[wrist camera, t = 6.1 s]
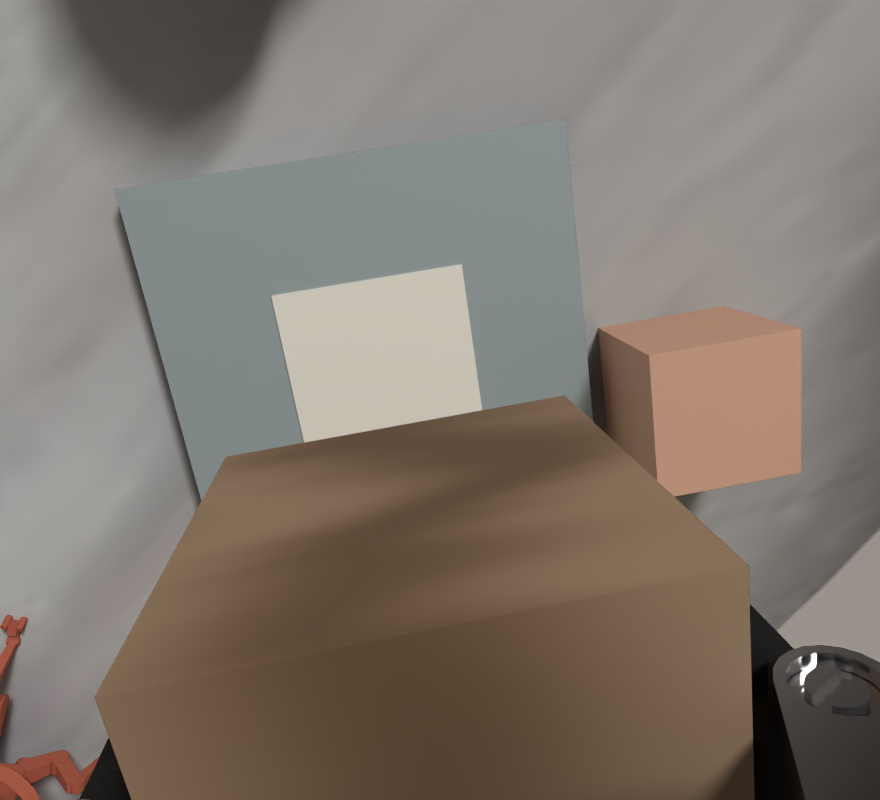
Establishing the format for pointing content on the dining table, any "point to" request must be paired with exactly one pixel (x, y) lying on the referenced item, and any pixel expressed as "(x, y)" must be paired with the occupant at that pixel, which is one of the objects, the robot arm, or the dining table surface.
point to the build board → (363, 289)
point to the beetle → (14, 780)
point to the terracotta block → (705, 397)
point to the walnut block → (440, 627)
